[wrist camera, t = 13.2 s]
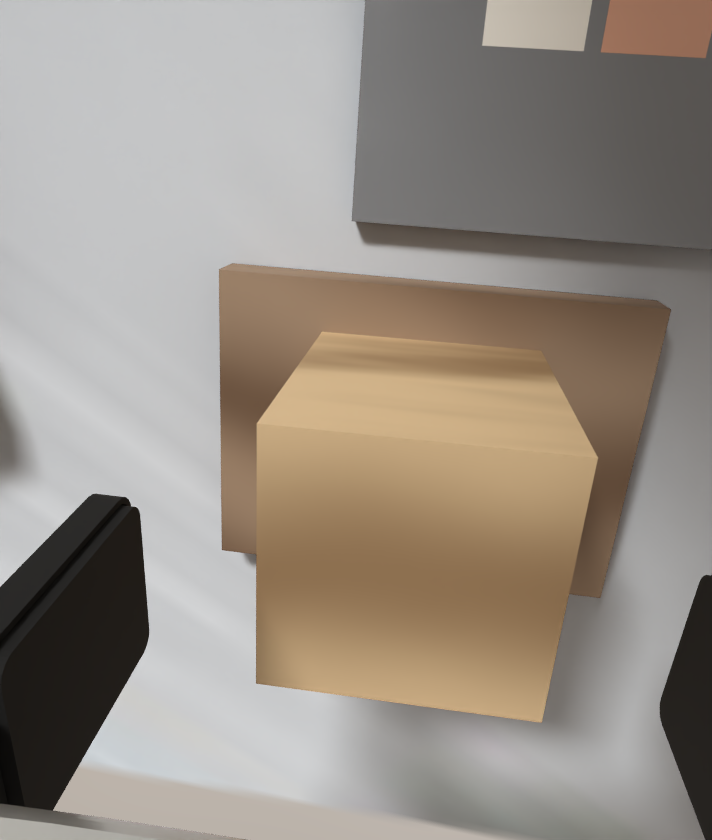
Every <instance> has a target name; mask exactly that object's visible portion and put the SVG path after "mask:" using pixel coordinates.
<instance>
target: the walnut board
mask: <svg viewBox="0 0 712 840" xmlns="http://www.w3.org/2000/svg"><path fill="white" fill-rule="evenodd" d="M219 312H220V409H221V506H222V550H226V551H234V552H242V553H249V554H256V528H257V422H258V421H259V420H260V418H261V417H262V415H263V414H264V413H265V411H266V410H267V408H268V407H269V406H270V404H271V403H272V401H273V400H274V399H275V397H276V396H277V394H278V393H279V392H280V390H281V389H282V387H283V386H284V384H285V383H286V382H287V380H288V379H289V377H290V376H291V375H292V373H293V372H294V370H295V369H296V368H297V366H298V365H299V363H300V362H301V361H302V359H303V358H304V356H305V355H306V354H307V352H308V351H309V349H310V348H311V347H312V345H313V344H314V342H315V341H316V339H317V338H318V337H319V335H320V334H321V332H331V333H343V334H355V335H366V336H378V337H389V338H401V339H412V340H424V341H435V342H447V343H458V344H470V345H482V346H493V347H505V348H516V349H528V350H539V351H542V353H543V355H544V357H545V359H546V361H547V363H548V364H549V366H550V368H551V370H552V372H553V374H554V376H555V378H556V380H557V381H558V383H559V385H560V387H561V389H562V391H563V393H564V395H565V396H566V398H567V400H568V402H569V404H570V406H571V408H572V410H573V412H574V413H575V415H576V417H577V419H578V421H579V423H580V425H581V427H582V429H583V430H584V432H585V434H586V436H587V438H588V440H589V442H590V444H591V446H592V447H593V449H594V451H595V453H596V455H597V457H598V460H597V465H596V470H595V474H594V479H593V484H592V488H591V493H590V498H589V503H588V507H587V512H586V517H585V521H584V526H583V531H582V535H581V540H580V545H579V549H578V554H577V559H576V564H575V568H574V573H573V578H572V582H571V587H570V592H569V594H573V595H581V596H589V597H597V598H600V597H601V593H602V589H603V585H604V581H605V577H606V573H607V568H608V564H609V560H610V556H611V552H612V548H613V544H614V540H615V536H616V532H617V528H618V524H619V520H620V516H621V512H622V507H623V503H624V499H625V495H626V491H627V487H628V483H629V479H630V475H631V471H632V467H633V463H634V459H635V455H636V450H637V446H638V442H639V438H640V434H641V430H642V426H643V422H644V418H645V414H646V410H647V406H648V402H649V398H650V394H651V389H652V385H653V381H654V377H655V373H656V369H657V365H658V361H659V357H660V353H661V349H662V345H663V341H664V337H665V333H666V328H667V324H668V320H669V316H670V312H671V309H670V308H668V307H666V306H665V305H663V304H662V303H660V302H659V301H656V300H645V299H634V298H622V297H611V296H599V295H588V294H576V293H565V292H553V291H542V290H531V289H519V288H508V287H496V286H485V285H473V284H462V283H450V282H439V281H427V280H416V279H405V278H393V277H382V276H370V275H359V274H347V273H336V272H324V271H313V270H301V269H290V268H279V267H267V266H256V265H244V264H233V263H232V264H230V265H228V266H226V267H223V268H221V269H219Z"/></svg>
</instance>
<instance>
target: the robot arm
mask: <svg viewBox="0 0 712 840" xmlns="http://www.w3.org/2000/svg"><path fill="white" fill-rule="evenodd" d="M148 638H149V622H148V609H147V597H146V584H145V571H144V559H143V546H142V534H141V521H140V513H139V510H138V508H136V507H131V504H130V502H129V499H127V498H126V497H118V496H110V495H101V494H92V495H91V496H89V497H88V498H87V499H86V500H85V501H84V502H83V503H82V504H81V505H80V506H79V507H78V508H77V509H76V510H75V511H74V512H73V513H72V514H71V515H70V516H69V517H68V519H67V520H66V521H65V522H64V523H63V524H62V525H61V526H60V527H59V528H58V529H57V530H56V531H55V532H54V533H53V534H52V535H51V536H50V537H49V538H48V539H47V540H46V541H45V542H44V543H43V544H42V545H41V546H40V547H39V548H38V549H37V550H36V551H35V552H34V553H33V554H32V555H31V556H30V557H29V558H28V559H27V560H26V561H25V562H24V563H23V564H22V565H21V566H20V567H19V568H18V569H17V570H16V572H15V573H14V574H13V575H12V576H11V577H10V578H9V579H8V580H7V581H6V582H5V583H4V584H3V585H2V586H1V587H0V840H246V839H239V838H233V837H226V836H220V835H214V834H207V833H200V832H194V831H187V830H181V829H175V828H168V827H162V826H155V825H149V824H142V823H136V822H130V821H123V820H116V819H109V818H103V817H95V816H88V815H81V814H73V813H66V812H58V811H53V809H54V807H55V805H56V804H57V802H58V800H59V799H60V797H61V795H62V793H63V792H64V790H65V788H66V786H67V785H68V783H69V781H70V780H71V778H72V776H73V774H74V773H75V771H76V769H77V767H78V766H79V764H80V762H81V761H82V759H83V757H84V755H85V754H86V752H87V750H88V748H89V747H90V745H91V743H92V741H93V740H94V738H95V736H96V735H97V733H98V731H99V729H100V728H101V726H102V724H103V722H104V721H105V719H106V717H107V715H108V714H109V712H110V710H111V709H112V707H113V705H114V703H115V702H116V700H117V698H118V696H119V695H120V693H121V691H122V689H123V688H124V686H125V684H126V683H127V681H128V679H129V677H130V676H131V674H132V672H133V670H134V669H135V667H136V665H137V663H138V662H139V660H140V658H141V657H142V655H143V653H144V651H145V649H146V646H147V642H148ZM660 718H661V723H662V726H663V728H664V731H665V734H666V736H667V739H668V742H669V744H670V747H671V750H672V752H673V755H674V758H675V760H676V763H677V766H678V768H679V771H680V774H681V776H682V779H683V781H684V784H685V787H686V789H687V792H688V795H689V797H690V800H691V803H692V805H693V808H694V811H695V813H696V816H697V819H698V821H699V824H700V827H701V829H702V832H703V835H704V837H705V840H712V575H711V576H710V575H705V576H703V577H702V578H701V580H700V582H699V585H698V588H697V591H696V594H695V597H694V600H693V603H692V606H691V609H690V612H689V615H688V618H687V621H686V624H685V627H684V630H683V634H682V637H681V640H680V643H679V646H678V649H677V652H676V655H675V658H674V661H673V664H672V667H671V670H670V673H669V676H668V679H667V682H666V685H665V688H664V691H663V694H662V697H661V701H660Z"/></svg>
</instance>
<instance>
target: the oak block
mask: <svg viewBox="0 0 712 840" xmlns="http://www.w3.org/2000/svg"><path fill="white" fill-rule="evenodd" d="M597 460H598V457H597V455H596V453H595V451H594V449H593V447H592V446H591V444H590V442H589V440H588V438H587V436H586V434H585V432H584V430H583V429H582V427H581V425H580V423H579V421H578V419H577V417H576V415H575V413H574V412H573V410H572V408H571V406H570V404H569V402H568V400H567V398H566V396H565V395H564V393H563V391H562V389H561V387H560V385H559V383H558V381H557V380H556V378H555V376H554V374H553V372H552V370H551V368H550V366H549V364H548V363H547V361H546V359H545V357H544V355H543V353H542V351H539V350H528V349H516V348H505V347H493V346H482V345H470V344H458V343H447V342H435V341H424V340H412V339H401V338H389V337H378V336H366V335H355V334H343V333H331V332H321V334H320V335H319V337H318V338H317V339H316V341H315V342H314V344H313V345H312V347H311V348H310V349H309V351H308V352H307V354H306V355H305V356H304V358H303V359H302V361H301V362H300V363H299V365H298V366H297V368H296V369H295V370H294V372H293V373H292V375H291V376H290V377H289V379H288V380H287V382H286V383H285V384H284V386H283V387H282V389H281V390H280V392H279V393H278V394H277V396H276V397H275V399H274V400H273V401H272V403H271V404H270V406H269V407H268V408H267V410H266V411H265V413H264V414H263V415H262V417H261V418H260V420H259V421H258V422H257V528H256V684H264V685H271V686H278V687H285V688H293V689H300V690H307V691H315V692H322V693H329V694H336V695H344V696H351V697H358V698H366V699H373V700H380V701H388V702H395V703H402V704H409V705H417V706H424V707H431V708H439V709H446V710H453V711H460V712H468V713H475V714H482V715H490V716H497V717H504V718H511V719H519V720H526V721H533V722H541V723H542V719H543V714H544V709H545V705H546V700H547V695H548V690H549V686H550V681H551V676H552V672H553V667H554V662H555V658H556V653H557V648H558V643H559V639H560V634H561V629H562V625H563V620H564V615H565V611H566V606H567V601H568V596H569V592H570V587H571V582H572V578H573V573H574V568H575V564H576V559H577V554H578V549H579V545H580V540H581V535H582V531H583V526H584V521H585V517H586V512H587V507H588V503H589V498H590V493H591V488H592V484H593V479H594V474H595V470H596V465H597Z"/></svg>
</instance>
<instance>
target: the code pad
mask: <svg viewBox="0 0 712 840" xmlns="http://www.w3.org/2000/svg"><path fill="white" fill-rule="evenodd" d="M352 221H357V222H369V223H381V224H394V225H406V226H419V227H431V228H444V229H456V230H469V231H481V232H494V233H506V234H519V235H531V236H544V237H556V238H568V239H581V240H593V241H606V242H618V243H631V244H643V245H656V246H668V247H681V248H693V249H706V250H712V0H365V14H364V31H363V47H362V63H361V79H360V95H359V112H358V128H357V144H356V160H355V177H354V193H353V209H352Z"/></svg>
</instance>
